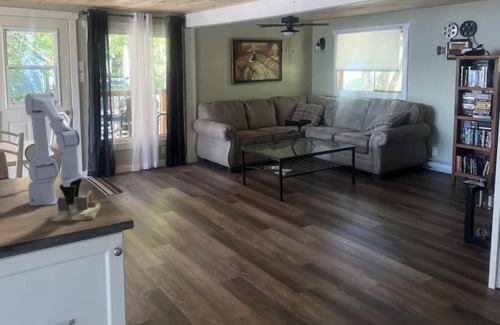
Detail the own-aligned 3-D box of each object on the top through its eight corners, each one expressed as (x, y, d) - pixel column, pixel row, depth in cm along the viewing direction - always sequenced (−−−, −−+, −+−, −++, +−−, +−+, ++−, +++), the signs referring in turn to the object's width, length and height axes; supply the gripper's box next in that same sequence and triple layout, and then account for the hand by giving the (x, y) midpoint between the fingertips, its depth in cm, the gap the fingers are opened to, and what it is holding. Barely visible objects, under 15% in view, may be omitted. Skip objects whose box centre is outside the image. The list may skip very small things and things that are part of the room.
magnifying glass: (28, 189, 211) (24, 144, 207) (27, 188, 213) (23, 144, 209) (48, 186, 216) (45, 142, 212) (48, 185, 218) (44, 142, 214)
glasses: (58, 210, 171) (57, 198, 170) (65, 202, 182) (64, 191, 181) (87, 209, 173) (86, 197, 172) (92, 201, 183) (91, 190, 182)
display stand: (50, 221, 170) (48, 206, 168) (60, 208, 184) (59, 194, 183) (93, 219, 172) (92, 204, 171) (100, 206, 186) (99, 193, 185)
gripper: (77, 168, 163) (80, 206, 166) (85, 160, 177) (87, 195, 180) (55, 169, 162) (58, 207, 165) (65, 160, 176) (68, 195, 179)
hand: (72, 201), depth 172 cm, fingers open, 7 cm apart
